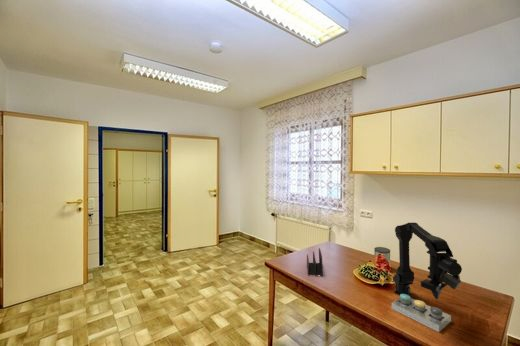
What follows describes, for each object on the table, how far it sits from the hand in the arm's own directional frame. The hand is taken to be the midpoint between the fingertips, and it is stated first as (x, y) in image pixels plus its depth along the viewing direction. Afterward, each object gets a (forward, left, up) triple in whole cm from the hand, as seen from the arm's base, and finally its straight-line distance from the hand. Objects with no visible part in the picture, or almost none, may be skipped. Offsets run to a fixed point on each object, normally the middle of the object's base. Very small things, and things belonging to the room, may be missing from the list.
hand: (436, 298), depth 113 cm
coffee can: (-47, +35, -12) cm, 60 cm away
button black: (0, 0, -9) cm, 9 cm away
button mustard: (-7, 0, -9) cm, 12 cm away
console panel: (-7, 0, -12) cm, 13 cm away
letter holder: (-73, -6, -12) cm, 74 cm away
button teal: (-14, 0, -9) cm, 17 cm away
